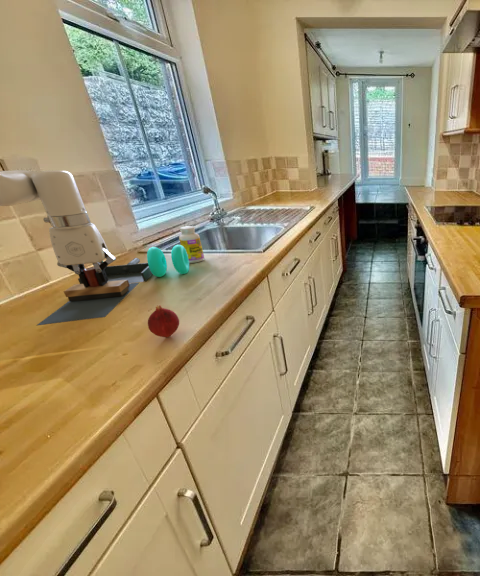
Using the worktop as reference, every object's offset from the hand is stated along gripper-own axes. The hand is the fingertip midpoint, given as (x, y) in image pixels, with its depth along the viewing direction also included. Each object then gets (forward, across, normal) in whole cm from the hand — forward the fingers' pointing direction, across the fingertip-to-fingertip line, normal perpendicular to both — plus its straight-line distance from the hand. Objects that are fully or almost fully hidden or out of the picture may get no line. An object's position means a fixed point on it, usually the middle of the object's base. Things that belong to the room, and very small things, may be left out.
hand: (96, 284), depth 91 cm
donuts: (+4, +15, +14) cm, 21 cm away
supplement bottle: (+4, +19, +28) cm, 34 cm away
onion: (+4, +25, -30) cm, 39 cm away
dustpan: (+4, 0, +19) cm, 19 cm away
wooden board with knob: (+3, 0, 0) cm, 4 cm away
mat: (+4, 0, -3) cm, 5 cm away
